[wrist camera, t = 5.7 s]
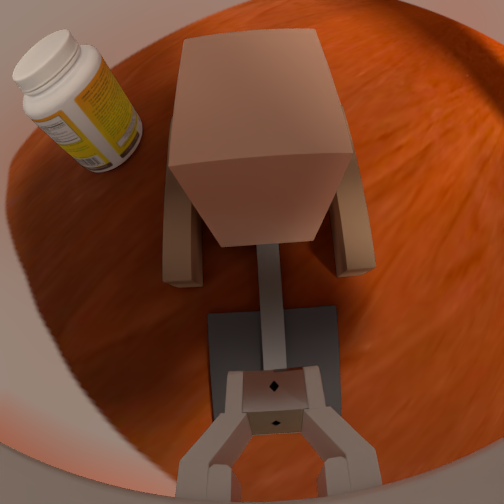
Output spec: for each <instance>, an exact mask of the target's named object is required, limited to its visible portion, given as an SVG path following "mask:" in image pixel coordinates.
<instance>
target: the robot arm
mask: <svg viewBox="0 0 504 504" xmlns="http://www.w3.org/2000/svg"><path fill="white" fill-rule="evenodd" d="M296 432H301V434H302V435H303V436H304V437H305V439H306V440H307V441H308V442H309V444H310V445H311V446H312V447H313V448H314V450H315V451H316V452H317V453H318V455H319V456H320V457H321V458H322V459H323V461H324V462H325V463H324V465H323V467H322V470H321V472H320V474H319V476H318V478H317V492H318V497H317V498H309V499H299V500H287V501H270V502H241V484H240V483H239V481H238V479H237V477H236V476H235V474H234V472H233V470H232V466H233V465H234V464H235V462H236V461H237V459H238V458H239V456H240V455H241V453H242V452H243V450H244V449H245V447H246V446H247V444H248V443H249V441H250V440H251V438H252V435H265V434H279V433H296ZM0 504H504V437H502V438H501V439H499V440H497V441H495V442H493V443H491V444H489V445H487V446H485V447H483V448H481V449H479V450H477V451H475V452H473V453H471V454H469V455H467V456H464V457H462V458H460V459H458V460H455V461H453V462H450V463H448V464H445V465H443V466H440V467H438V468H435V469H432V470H430V471H427V472H424V473H421V474H418V475H415V476H412V477H409V478H406V479H402V480H399V481H395V482H392V483H388V484H384V485H382V480H381V475H380V470H379V465H378V460H377V456H376V451H375V449H374V448H373V447H372V446H371V445H370V444H369V443H368V442H367V441H366V440H365V439H364V438H363V437H362V436H361V435H359V434H358V433H357V432H356V431H355V430H354V429H353V428H352V427H351V426H350V425H349V424H348V423H347V422H346V421H345V420H344V419H343V418H342V417H341V416H340V415H339V414H338V413H337V412H336V411H335V410H334V409H333V408H332V407H331V406H328V407H326V404H325V398H324V392H323V387H322V381H321V375H320V370H319V367H318V366H317V365H316V366H308V367H294V368H284V369H273V370H258V371H229V372H228V375H227V388H226V402H225V413H220V414H219V416H218V417H217V418H216V419H215V421H214V422H213V423H212V424H211V425H210V427H209V428H208V429H207V430H206V431H205V432H204V434H203V435H202V436H201V437H200V438H199V439H198V441H197V442H196V443H195V444H194V445H193V446H192V448H191V449H190V450H189V451H188V452H187V453H186V454H185V455H184V457H183V458H182V459H181V460H180V463H179V470H178V478H177V486H176V494H175V497H168V496H162V495H156V494H150V493H145V492H140V491H134V490H130V489H125V488H121V487H117V486H113V485H109V484H105V483H102V482H98V481H95V480H91V479H88V478H85V477H82V476H79V475H76V474H73V473H70V472H67V471H64V470H62V469H59V468H56V467H53V466H51V465H48V464H46V463H44V462H41V461H39V460H36V459H34V458H32V457H30V456H28V455H25V454H23V453H21V452H19V451H17V450H15V449H13V448H11V447H9V446H7V445H5V444H3V443H1V442H0Z"/></svg>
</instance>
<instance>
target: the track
mask: <svg viewBox="0 0 504 504" xmlns="http://www.w3.org/2000/svg"><path fill="white" fill-rule="evenodd" d="M341 108H342V111H343V115H344V119H345V122H346V126H347V130H348V133H349V137H350V141H351V145H352V149H353V155H352V157H351V160H350V162H349V164H348V166H347V169H346V171H345V173H344V175H343V178H342V180H341V182H340V184H339V187H338V189H337V191H336V193H335V195H334V198H333V200H332V202H331V204H330V206H329V216H330V223H331V231H332V239H333V247H334V255H335V264H336V274H337V277H346V276H357V275H363V274H365V273H367V272H368V271H370V270H372V269H374V268H375V267H376V263H375V255H374V248H373V241H372V235H371V229H370V223H369V217H368V211H367V206H366V201H365V195H364V190H363V186H362V181H361V176H360V172H359V167H358V163H357V158H356V154H355V150H354V146H353V142H352V138H351V134H350V131H349V127H348V123H347V120H346V116H345V113H344V109H343V106H342V105H341ZM172 121H173V117H172V118H171V123H170V133H169V143H168V154H167V166H166V180H165V196H164V218H163V259H162V282H164V283H167V284H169V285H172V286H174V287H177V288H183V287H203V270H202V217H201V216H200V214H199V213H198V211H197V210H196V208H195V207H194V205H193V204H192V202H191V201H190V199H189V198H188V196H187V195H186V193H185V191H184V190H183V188H182V187H181V185H180V184H179V182H178V181H177V179H176V178H175V176H174V175H173V173H172V172H171V170H170V168H169V167H168V164H169V152H170V141H171V130H172ZM256 246H257V263H258V279H259V296H260V313H261V330H262V347H263V365H264V370H273V369H284V368H287V364H286V346H285V329H284V313H283V298H282V283H281V270H280V256H279V244H278V243H275V244H260V245H256Z"/></svg>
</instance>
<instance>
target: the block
mask: <svg viewBox="0 0 504 504" xmlns="http://www.w3.org/2000/svg"><path fill="white" fill-rule="evenodd" d="M352 155H353V149H352V145H351V141H350V137H349V133H348V130H347V126H346V122H345V119H344V115H343V111H342V108H341V105H340V101H339V98H338V95H337V91H336V88H335V85H334V82H333V79H332V76H331V73H330V70H329V67H328V64H327V61H326V58H325V55H324V52H323V50H322V47H321V44H320V41H319V39H318V36H317V34H316V31H315V29H266V30H251V31H239V32H230V33H221V34H214V35H207V36H201V37H195V38H189V39H184V43H183V49H182V55H181V61H180V67H179V74H178V81H177V88H176V96H175V103H174V112H173V121H172V130H171V141H170V152H169V164H168V167H169V168H170V170H171V172H172V173H173V175H174V176H175V178H176V179H177V181H178V182H179V184H180V185H181V187H182V188H183V190H184V191H185V193H186V195H187V196H188V198H189V199H190V201H191V202H192V204H193V205H194V207H195V208H196V210H197V211H198V213H199V214H200V216H201V217H202V219H203V220H204V222H205V223H206V225H207V226H208V228H209V229H210V231H211V232H212V234H213V235H214V237H215V238H216V240H217V241H218V243H219V244H220V246H221V247H232V246H246V245H260V244H275V243H289V242H304V241H313V240H314V238H315V236H316V234H317V232H318V230H319V228H320V226H321V224H322V221H323V219H324V217H325V215H326V213H327V211H328V209H329V206H330V204H331V202H332V200H333V198H334V195H335V193H336V191H337V189H338V187H339V184H340V182H341V180H342V178H343V175H344V173H345V171H346V169H347V166H348V164H349V162H350V160H351V157H352Z"/></svg>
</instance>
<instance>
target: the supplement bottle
mask: <svg viewBox="0 0 504 504" xmlns="http://www.w3.org/2000/svg"><path fill="white" fill-rule="evenodd" d="M12 78H13V80H14V82H15V83H16V84H17V85H18V86H19V87H20V89H21V91H23V92H24V93H25V95H24V98H23V108H24V111H25V113H26V114H27V116H28V117H29V118H30V119H31V120H32V121H33V122H35V123H36V124H37V125H38V126H39V127H40V128H41V129H42V130H43V131H44V132H45V133H46V134H47V135H49V136H50V137H51V138H52V139H53V140H54V141H55V142H56V143H57V144H58V145H59V146H60V147H62V148H63V149H64V150H65V151H66V152H67V153H68V154H69V155H71V156H72V157H73V158H74V159H75V160H76V161H77V162H78V163H80V164H81V165H82V166H83V167H84V168H86V169H87V170H89V171H92V172H105V171H109V170H111V169H114V168H116V167H118V166H119V165H121V164H122V163H123V162H125V161H126V160H127V159H128V158H129V157H130V156H131V155H132V154H133V152H134V151H135V150H136V148H137V146H138V144H139V142H140V140H141V136H142V122H141V119H140V117H139V116H138V114H137V112H136V111H135V109H134V107H133V106H132V104H131V103H130V101H129V99H128V98H127V96H126V95H125V93H124V91H123V90H122V88H121V87H120V85H119V83H118V82H117V80H116V79H115V77H114V75H113V74H112V72H111V70H110V69H109V67H108V66H107V64H106V62H105V61H104V59H103V57H102V56H101V54H100V53H99V51H98V50H97V49H96V48H95V47H94V46H91V45H78V42H77V41H76V40H75V39H74V38H73V36H72V35H71V33H70V32H69V31H68V30H66V29H62V30H58V31H55V32H53V33H51V34H49V35H48V36H46V37H44V38H43V39H41V40H40V41H39V42H37V43H36V44H35V45H34V46H33V47H32V48H30V49H29V50H28V51H27V52H26V54H25V55H24V56H23V57H22V58H21V59H20V61H19V62H18V64H17V65H16V67H15V69H14V71H13V76H12Z"/></svg>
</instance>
